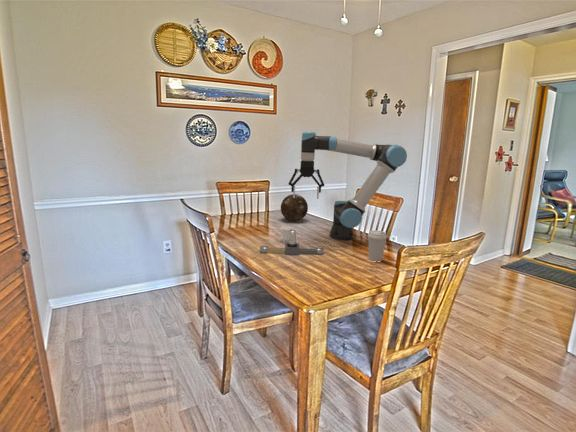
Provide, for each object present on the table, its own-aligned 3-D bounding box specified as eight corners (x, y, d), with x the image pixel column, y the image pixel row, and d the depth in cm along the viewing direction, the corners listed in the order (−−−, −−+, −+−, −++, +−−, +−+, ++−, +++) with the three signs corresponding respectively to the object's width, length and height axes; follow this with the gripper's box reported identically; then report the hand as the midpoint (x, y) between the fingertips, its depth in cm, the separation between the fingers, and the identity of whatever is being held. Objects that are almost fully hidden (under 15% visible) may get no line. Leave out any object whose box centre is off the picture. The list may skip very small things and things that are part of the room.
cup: (292, 242, 196) (293, 229, 195) (275, 243, 194) (276, 229, 193) (290, 239, 203) (290, 226, 201) (274, 239, 201) (274, 226, 199)
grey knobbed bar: (322, 251, 183) (323, 244, 183) (324, 255, 176) (324, 248, 175) (260, 249, 183) (260, 242, 182) (259, 253, 175) (259, 246, 174)
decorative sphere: (307, 224, 239) (309, 197, 234) (279, 223, 239) (280, 196, 234) (306, 218, 258) (307, 192, 254) (280, 217, 258) (281, 191, 254)
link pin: (295, 251, 181) (296, 230, 178) (295, 253, 178) (296, 232, 175) (288, 251, 181) (289, 229, 178) (288, 253, 178) (289, 231, 175)
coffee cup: (374, 265, 165) (377, 235, 162) (361, 258, 174) (364, 230, 170) (388, 262, 170) (391, 233, 166) (375, 256, 178) (378, 229, 175)
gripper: (328, 160, 190) (326, 197, 195) (285, 159, 190) (283, 196, 194) (330, 161, 183) (328, 199, 188) (285, 160, 182) (283, 198, 187)
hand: (305, 198), depth 191 cm, fingers open, 13 cm apart
